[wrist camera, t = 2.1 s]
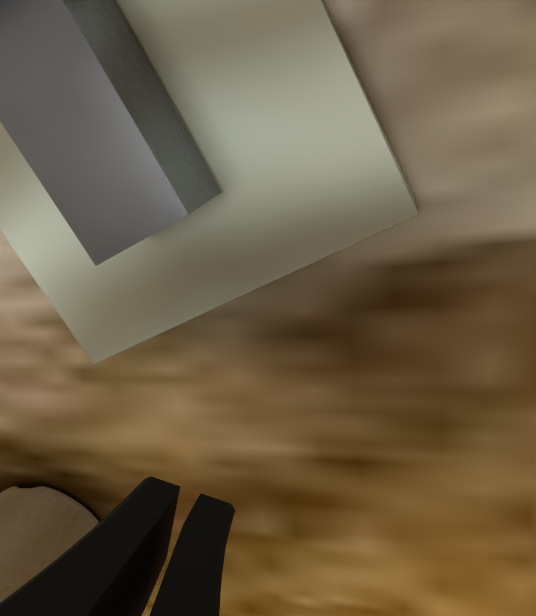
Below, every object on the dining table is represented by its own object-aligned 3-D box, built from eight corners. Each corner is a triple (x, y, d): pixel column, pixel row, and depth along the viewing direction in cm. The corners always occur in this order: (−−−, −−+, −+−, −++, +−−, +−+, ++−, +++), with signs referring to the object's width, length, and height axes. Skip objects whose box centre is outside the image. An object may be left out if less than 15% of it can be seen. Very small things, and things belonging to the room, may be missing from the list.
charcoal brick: (221, 192, 14) (188, 214, 12) (140, 238, 15) (95, 266, 13) (28, -151, 12) (-59, -207, 10) (-51, -69, 13) (-146, -100, 11)
